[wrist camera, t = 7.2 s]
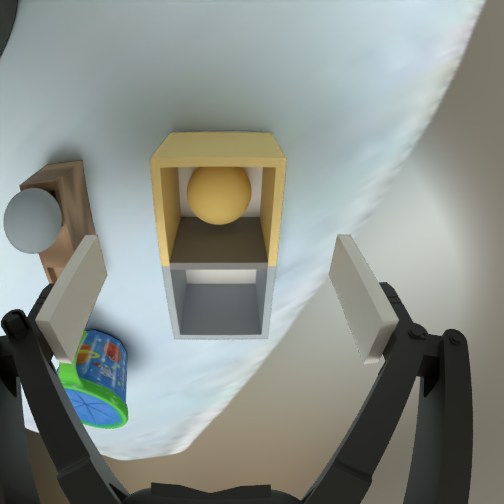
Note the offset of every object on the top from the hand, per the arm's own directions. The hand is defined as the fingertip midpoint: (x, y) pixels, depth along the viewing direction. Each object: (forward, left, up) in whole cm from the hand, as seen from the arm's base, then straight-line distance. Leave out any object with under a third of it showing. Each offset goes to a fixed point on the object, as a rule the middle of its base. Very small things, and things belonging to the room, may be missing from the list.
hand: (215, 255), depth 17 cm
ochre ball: (0, 0, -11) cm, 11 cm away
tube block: (+4, 0, -12) cm, 12 cm away
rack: (+4, -14, -12) cm, 19 cm away
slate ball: (0, -14, -7) cm, 16 cm away
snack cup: (+23, -16, -12) cm, 31 cm away
